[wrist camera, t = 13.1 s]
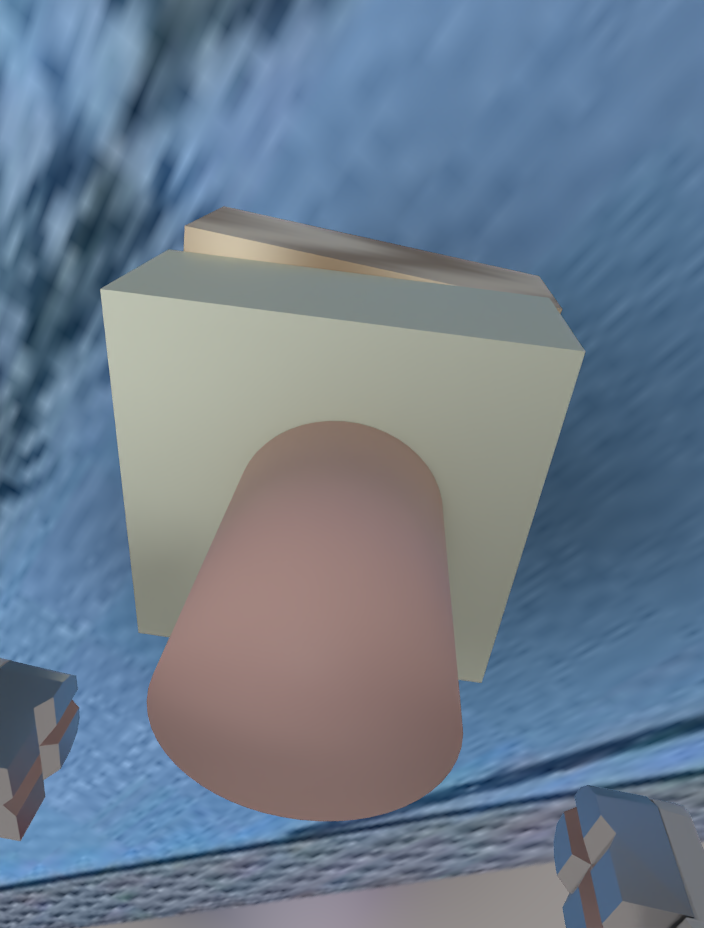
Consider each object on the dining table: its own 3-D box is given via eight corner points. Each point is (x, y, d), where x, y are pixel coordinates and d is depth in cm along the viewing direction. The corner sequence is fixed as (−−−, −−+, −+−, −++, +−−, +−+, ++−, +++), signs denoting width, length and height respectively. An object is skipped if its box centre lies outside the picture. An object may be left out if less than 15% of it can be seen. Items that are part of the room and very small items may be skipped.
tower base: (536, 273, 19) (562, 308, 16) (451, 522, 24) (456, 590, 21) (227, 204, 19) (184, 225, 16) (206, 470, 24) (170, 529, 21)
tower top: (549, 297, 16) (585, 351, 12) (471, 587, 21) (481, 683, 17) (168, 249, 16) (100, 289, 13) (184, 547, 21) (138, 632, 18)
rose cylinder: (468, 445, 14) (505, 652, 8) (415, 607, 16) (419, 842, 11) (247, 401, 13) (148, 583, 8) (229, 571, 16) (144, 791, 11)
